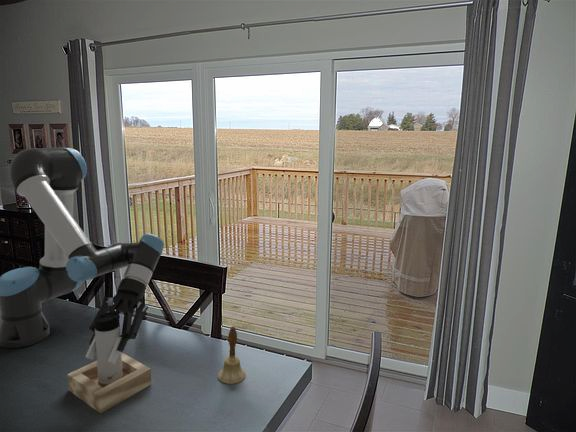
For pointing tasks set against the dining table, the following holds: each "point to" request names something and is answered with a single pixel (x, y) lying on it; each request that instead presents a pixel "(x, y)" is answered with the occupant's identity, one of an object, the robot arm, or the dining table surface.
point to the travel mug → (107, 348)
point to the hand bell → (231, 363)
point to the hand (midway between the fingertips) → (100, 360)
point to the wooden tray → (113, 392)
